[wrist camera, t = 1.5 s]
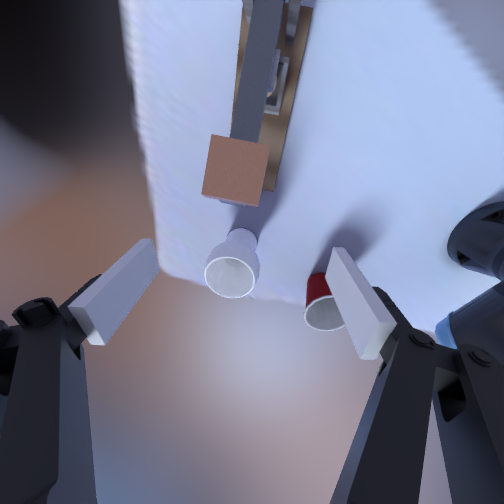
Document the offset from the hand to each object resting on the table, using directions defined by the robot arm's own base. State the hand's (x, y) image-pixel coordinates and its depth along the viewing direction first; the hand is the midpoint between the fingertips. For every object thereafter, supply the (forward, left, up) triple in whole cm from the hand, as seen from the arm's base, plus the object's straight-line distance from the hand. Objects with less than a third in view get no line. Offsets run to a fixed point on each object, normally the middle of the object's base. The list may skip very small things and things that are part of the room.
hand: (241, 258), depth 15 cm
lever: (+3, -10, -17) cm, 20 cm away
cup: (+3, +15, -32) cm, 36 cm away
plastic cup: (-19, +22, -32) cm, 43 cm away
